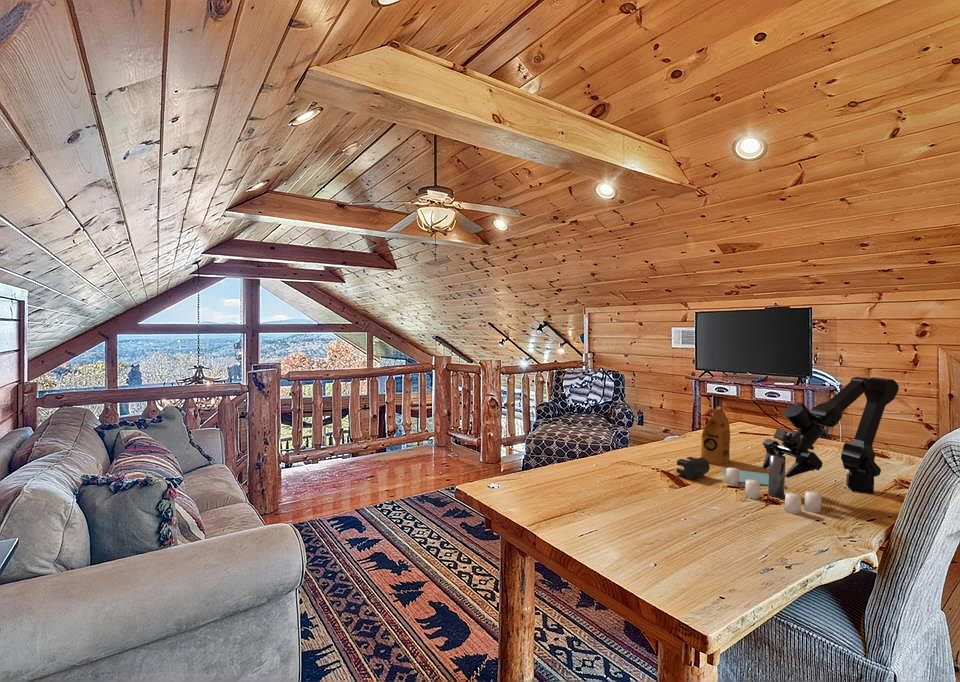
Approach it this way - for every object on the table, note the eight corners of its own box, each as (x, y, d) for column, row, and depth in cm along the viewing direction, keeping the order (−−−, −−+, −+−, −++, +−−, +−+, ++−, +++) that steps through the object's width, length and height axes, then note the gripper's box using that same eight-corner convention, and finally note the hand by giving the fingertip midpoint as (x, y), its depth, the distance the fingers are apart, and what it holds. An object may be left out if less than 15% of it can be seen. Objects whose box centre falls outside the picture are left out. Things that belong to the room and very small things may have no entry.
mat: (774, 475, 173) (774, 474, 173) (786, 488, 160) (786, 486, 160) (720, 470, 178) (721, 468, 178) (728, 481, 165) (728, 480, 165)
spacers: (750, 480, 167) (750, 466, 167) (824, 512, 139) (824, 495, 139) (715, 482, 165) (716, 468, 164) (783, 515, 136) (784, 498, 136)
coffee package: (696, 461, 190) (698, 407, 190) (708, 455, 199) (709, 404, 198) (722, 466, 183) (724, 411, 182) (733, 460, 192) (735, 407, 191)
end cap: (693, 482, 164) (694, 463, 164) (675, 476, 170) (676, 458, 170) (709, 477, 170) (710, 459, 170) (691, 472, 176) (692, 454, 176)
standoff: (782, 494, 154) (784, 455, 153) (785, 498, 150) (786, 458, 149) (767, 492, 155) (768, 453, 155) (769, 496, 151) (770, 456, 151)
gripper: (768, 415, 162) (739, 447, 160) (816, 427, 143) (784, 464, 142) (786, 437, 163) (758, 469, 162) (836, 451, 145) (805, 488, 143)
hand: (774, 472), depth 152 cm, fingers open, 9 cm apart
